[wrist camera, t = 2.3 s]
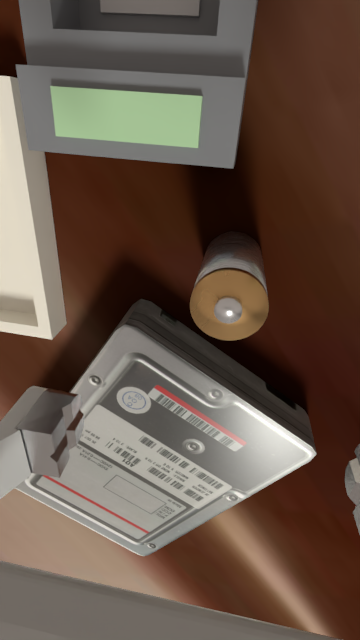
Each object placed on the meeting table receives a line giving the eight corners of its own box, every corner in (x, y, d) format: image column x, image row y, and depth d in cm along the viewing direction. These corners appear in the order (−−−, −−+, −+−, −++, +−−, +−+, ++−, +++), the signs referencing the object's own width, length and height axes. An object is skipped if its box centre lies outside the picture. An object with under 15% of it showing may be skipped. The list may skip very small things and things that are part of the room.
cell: (267, 235, 22) (277, 280, 15) (256, 289, 24) (260, 350, 17) (207, 228, 22) (191, 269, 16) (201, 282, 24) (185, 338, 18)
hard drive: (27, 449, 39) (4, 482, 36) (141, 291, 26) (124, 319, 22) (152, 519, 42) (143, 558, 39) (312, 411, 29) (322, 454, 25)
